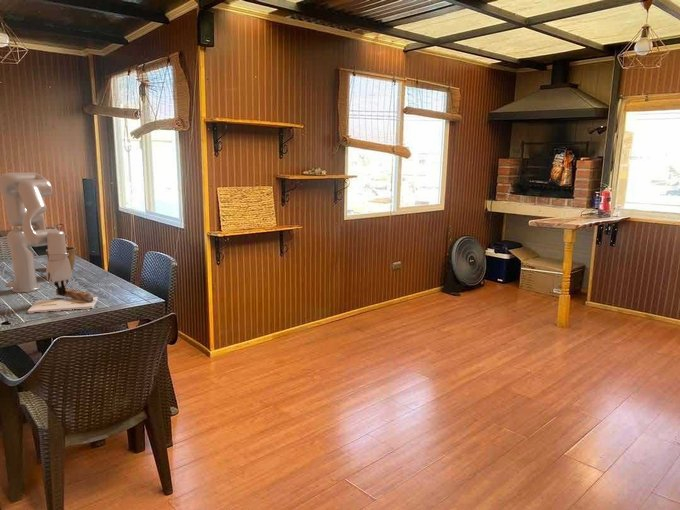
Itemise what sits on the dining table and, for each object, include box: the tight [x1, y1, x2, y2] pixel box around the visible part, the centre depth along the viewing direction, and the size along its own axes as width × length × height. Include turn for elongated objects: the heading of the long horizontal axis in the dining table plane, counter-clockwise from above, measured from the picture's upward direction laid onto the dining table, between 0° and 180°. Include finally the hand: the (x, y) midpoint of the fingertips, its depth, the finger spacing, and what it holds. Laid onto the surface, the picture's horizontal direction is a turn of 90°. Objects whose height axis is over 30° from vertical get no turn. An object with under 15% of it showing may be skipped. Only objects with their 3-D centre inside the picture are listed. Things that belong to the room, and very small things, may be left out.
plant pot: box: [45, 246, 77, 271], centre depth 282 cm, size 15×15×16 cm
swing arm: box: [55, 287, 94, 301], centre depth 236 cm, size 24×3×3 cm, turn 64°
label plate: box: [27, 296, 99, 314], centre depth 229 cm, size 26×16×2 cm, turn 108°
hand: (61, 294), depth 236 cm, fingers closed
